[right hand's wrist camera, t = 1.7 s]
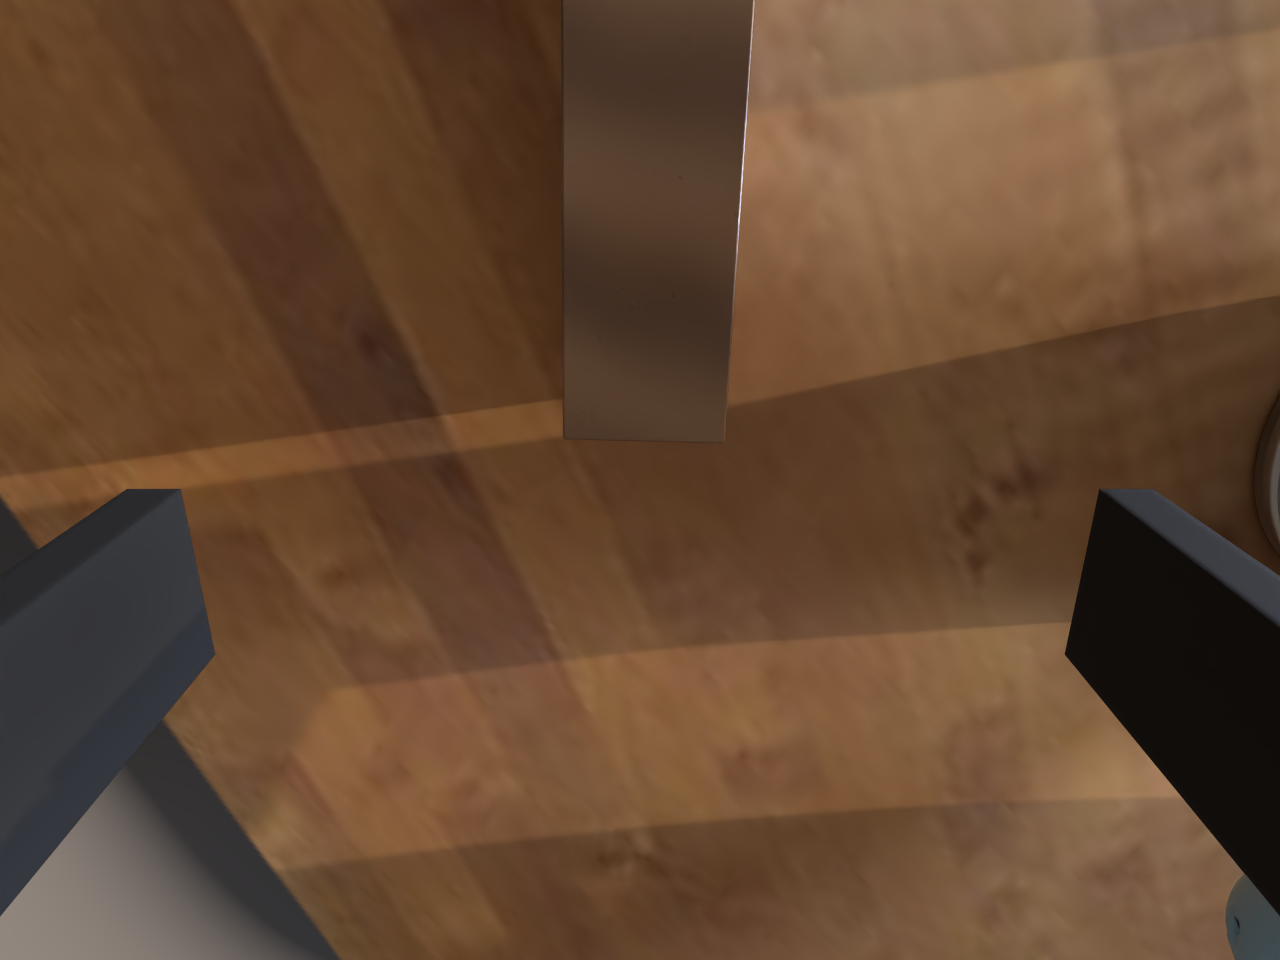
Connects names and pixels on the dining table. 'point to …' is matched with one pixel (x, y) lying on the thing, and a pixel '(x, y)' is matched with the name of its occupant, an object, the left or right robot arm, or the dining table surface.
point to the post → (651, 213)
